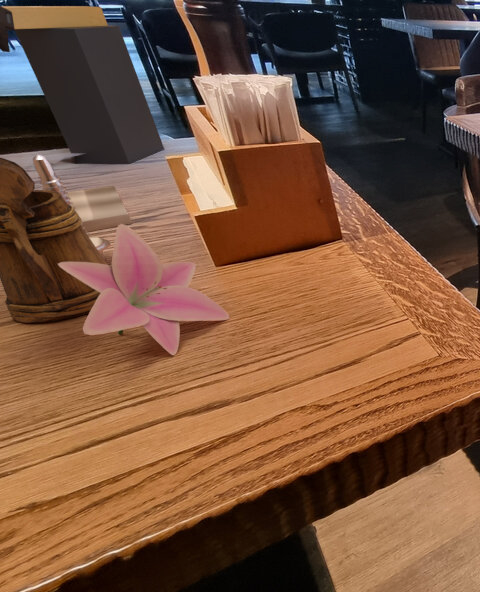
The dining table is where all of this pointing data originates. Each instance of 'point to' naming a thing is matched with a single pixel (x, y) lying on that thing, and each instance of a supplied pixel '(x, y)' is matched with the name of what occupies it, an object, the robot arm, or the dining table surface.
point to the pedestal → (92, 92)
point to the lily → (143, 292)
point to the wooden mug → (41, 251)
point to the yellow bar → (56, 16)
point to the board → (99, 208)
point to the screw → (61, 192)
